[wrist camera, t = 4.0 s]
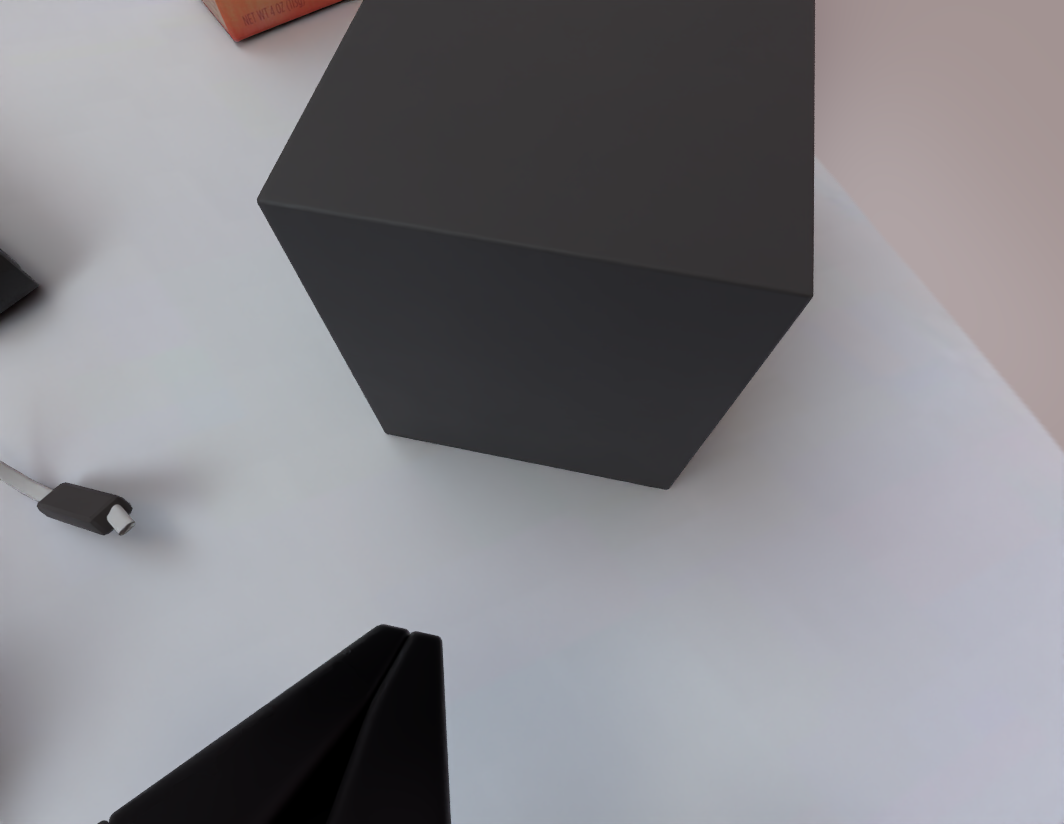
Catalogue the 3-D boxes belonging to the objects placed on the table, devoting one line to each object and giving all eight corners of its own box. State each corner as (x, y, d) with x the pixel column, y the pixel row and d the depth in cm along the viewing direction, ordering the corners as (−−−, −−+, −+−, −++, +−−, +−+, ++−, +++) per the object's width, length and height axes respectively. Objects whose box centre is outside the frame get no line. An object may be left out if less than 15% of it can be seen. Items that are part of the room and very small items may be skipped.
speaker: (684, 493, 20) (847, 302, 10) (384, 434, 21) (253, 199, 11) (718, 158, 26) (836, -162, 16) (490, 122, 27) (470, -204, 17)
